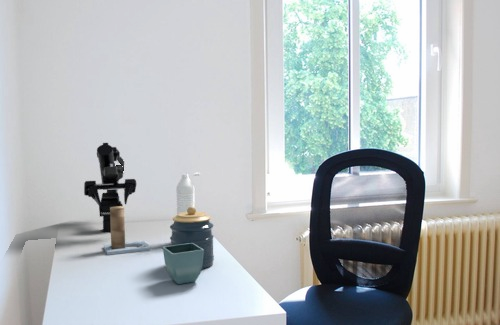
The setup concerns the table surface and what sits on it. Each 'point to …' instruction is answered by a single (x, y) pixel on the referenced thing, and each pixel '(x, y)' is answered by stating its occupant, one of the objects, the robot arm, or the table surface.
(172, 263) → the flower pot
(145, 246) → the keyhole plate
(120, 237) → the tan peg
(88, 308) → the table surface
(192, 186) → the water bottle
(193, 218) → the canister
